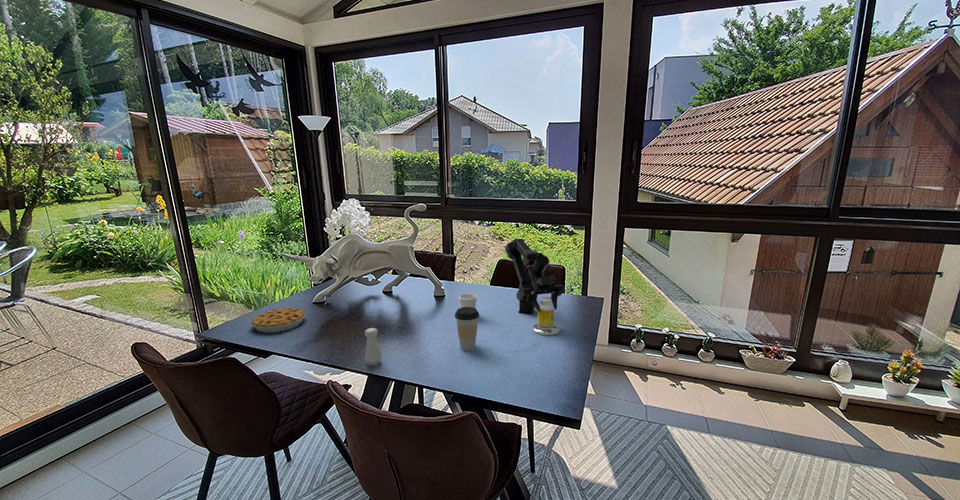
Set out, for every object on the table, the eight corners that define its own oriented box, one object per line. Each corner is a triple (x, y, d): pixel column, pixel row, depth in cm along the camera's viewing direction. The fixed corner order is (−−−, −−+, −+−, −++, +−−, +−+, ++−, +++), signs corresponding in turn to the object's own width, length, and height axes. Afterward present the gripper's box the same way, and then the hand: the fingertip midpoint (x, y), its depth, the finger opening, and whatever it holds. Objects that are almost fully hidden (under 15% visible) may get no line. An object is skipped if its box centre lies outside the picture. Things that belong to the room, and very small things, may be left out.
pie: (276, 314, 189) (275, 304, 188) (316, 317, 184) (315, 307, 183) (240, 332, 168) (239, 321, 167) (284, 336, 163) (282, 325, 162)
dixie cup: (467, 321, 175) (466, 300, 173) (455, 316, 181) (455, 296, 179) (481, 316, 181) (480, 296, 178) (469, 311, 187) (469, 292, 185)
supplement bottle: (552, 331, 160) (554, 301, 158) (536, 330, 161) (537, 300, 159) (553, 325, 167) (554, 296, 164) (537, 324, 168) (538, 295, 165)
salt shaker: (367, 359, 142) (364, 326, 139) (383, 358, 142) (380, 325, 139) (363, 367, 136) (360, 333, 133) (380, 366, 136) (377, 332, 134)
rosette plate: (529, 326, 168) (529, 324, 168) (552, 323, 171) (552, 321, 171) (539, 337, 158) (539, 334, 157) (563, 333, 160) (563, 331, 160)
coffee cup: (461, 354, 144) (460, 316, 141) (451, 344, 152) (450, 308, 149) (484, 349, 148) (483, 312, 145) (473, 339, 156) (472, 304, 153)
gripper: (522, 270, 160) (532, 304, 152) (563, 266, 165) (575, 299, 157) (515, 283, 169) (524, 315, 161) (555, 279, 174) (565, 311, 166)
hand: (547, 310), depth 161 cm, fingers open, 7 cm apart
